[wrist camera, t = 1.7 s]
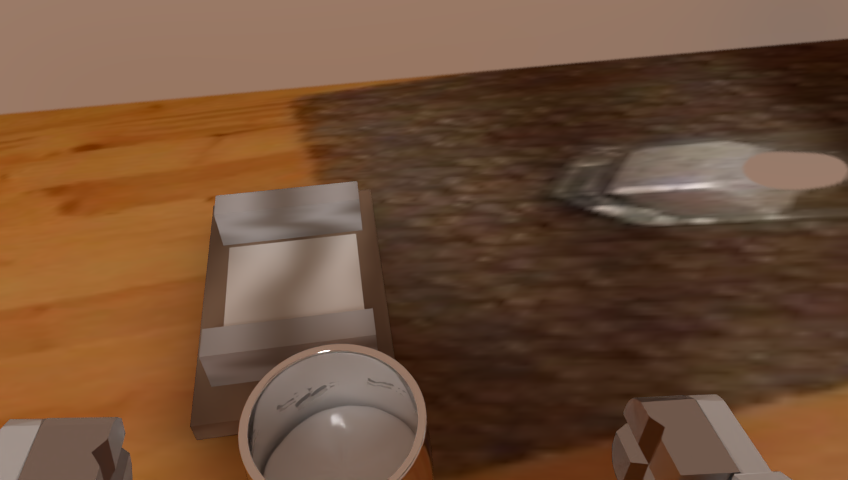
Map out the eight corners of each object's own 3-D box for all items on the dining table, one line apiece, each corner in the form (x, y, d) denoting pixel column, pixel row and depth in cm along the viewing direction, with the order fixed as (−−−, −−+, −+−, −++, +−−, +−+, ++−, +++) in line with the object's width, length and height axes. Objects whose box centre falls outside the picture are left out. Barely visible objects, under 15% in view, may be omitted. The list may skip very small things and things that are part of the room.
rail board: (371, 203, 54) (367, 158, 51) (401, 411, 41) (398, 368, 38) (218, 220, 53) (204, 175, 50) (196, 440, 40) (176, 397, 36)
